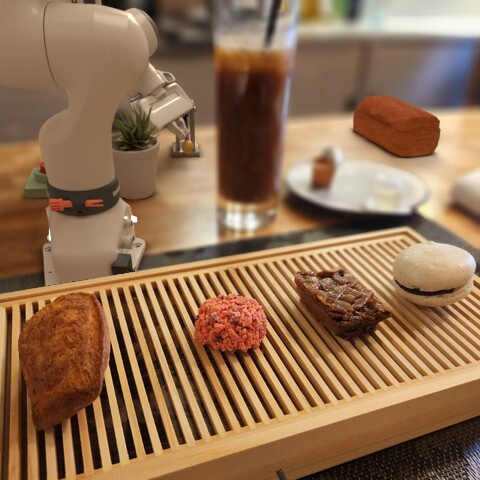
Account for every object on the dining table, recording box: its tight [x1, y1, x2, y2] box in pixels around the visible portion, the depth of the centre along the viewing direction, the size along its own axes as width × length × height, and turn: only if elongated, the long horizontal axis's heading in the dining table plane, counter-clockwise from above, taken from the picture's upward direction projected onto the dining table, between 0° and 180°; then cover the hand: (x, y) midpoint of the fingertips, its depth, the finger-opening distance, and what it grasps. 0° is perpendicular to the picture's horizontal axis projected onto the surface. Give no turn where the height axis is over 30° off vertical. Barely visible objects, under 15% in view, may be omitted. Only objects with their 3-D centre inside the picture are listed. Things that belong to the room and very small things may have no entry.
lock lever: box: [181, 113, 194, 154], centre depth 119 cm, size 16×3×3 cm, turn 8°
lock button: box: [38, 161, 46, 174], centre depth 105 cm, size 4×4×2 cm
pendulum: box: [171, 99, 200, 158], centre depth 124 cm, size 8×7×13 cm
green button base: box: [23, 165, 48, 199], centre depth 107 cm, size 12×10×4 cm
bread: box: [352, 94, 442, 158], centre depth 138 cm, size 16×27×11 cm, turn 22°
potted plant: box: [112, 103, 161, 200], centre depth 101 cm, size 13×14×20 cm
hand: (186, 137), depth 114 cm, fingers closed
